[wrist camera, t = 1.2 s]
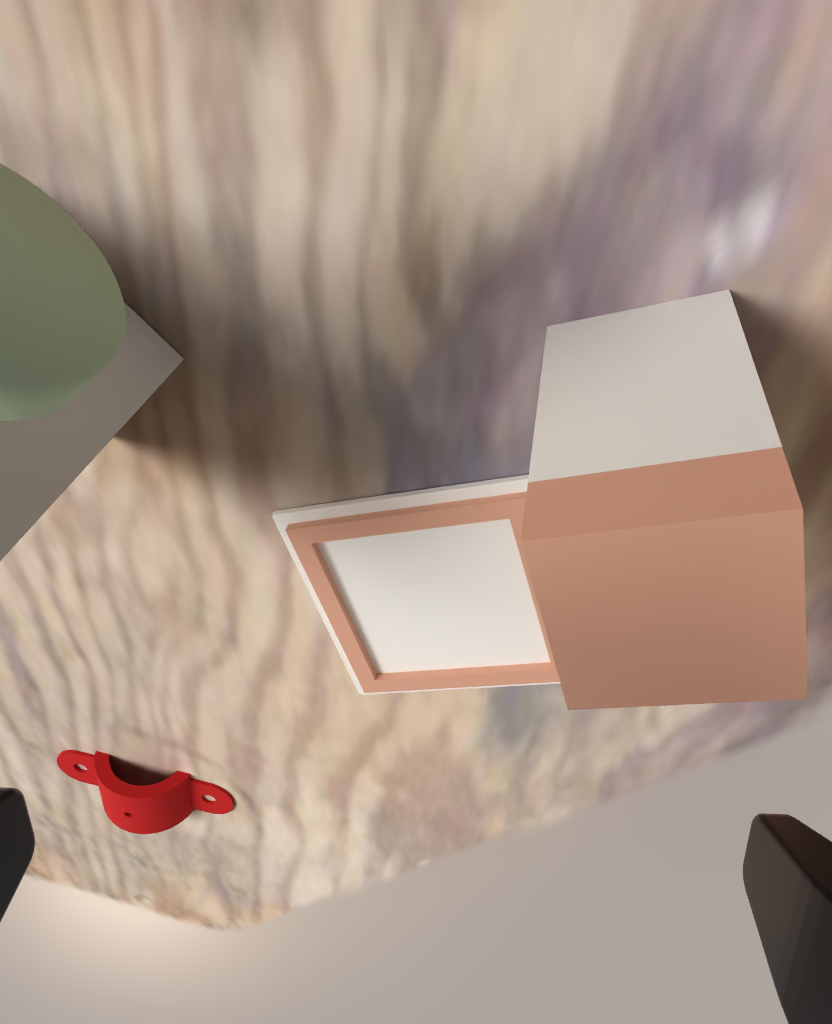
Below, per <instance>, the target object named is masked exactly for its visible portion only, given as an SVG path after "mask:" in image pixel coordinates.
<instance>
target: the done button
mask: <svg viewBox="0 0 832 1024" xmlns="http://www.w3.org/2000/svg"><path fill="white" fill-rule="evenodd" d="M125 326H126V315H125V306H124V302H123V297H122V294H121V291H120V288H119V285H118V282H117V280H116V278H115V276H114V274H113V272H112V269H111V268H110V266H109V264H108V262H107V261H106V259H105V257H104V256H103V254H102V253H101V251H100V250H99V248H98V247H97V246H96V244H95V243H94V241H93V240H92V239H91V238H90V237H89V235H88V234H87V233H86V232H85V231H84V229H83V228H82V227H81V226H80V225H79V224H78V223H77V222H76V221H75V220H74V219H73V218H72V217H71V215H70V214H69V213H68V212H66V211H65V210H64V209H63V208H62V207H61V206H60V205H59V204H58V203H57V202H55V201H54V200H53V199H52V198H51V197H49V196H48V195H47V194H46V193H44V192H43V191H42V190H41V189H39V188H38V187H36V186H35V185H34V184H32V183H31V182H29V181H28V180H26V179H25V178H24V177H22V176H20V175H19V174H17V173H15V172H14V171H12V170H11V169H9V168H7V167H6V166H4V165H2V164H0V420H1V421H14V420H26V419H32V418H38V417H41V416H45V415H48V414H51V413H53V412H55V411H57V410H59V409H61V408H63V407H65V406H66V405H67V404H69V403H70V402H71V401H73V400H74V399H75V398H76V397H77V396H78V395H79V394H80V393H81V392H82V391H83V390H84V388H85V387H86V386H87V385H88V384H89V383H90V382H91V381H92V380H93V379H94V378H95V377H96V376H97V375H98V374H99V373H100V372H101V371H102V370H103V369H104V368H105V367H106V366H107V365H108V364H109V362H110V361H111V360H112V359H113V358H114V357H115V355H116V354H117V352H118V350H119V348H120V347H121V345H122V341H123V338H124V335H125Z"/></svg>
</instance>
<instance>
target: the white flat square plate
mask: <svg viewBox="0 0 832 1024" xmlns="http://www.w3.org/2000/svg"><path fill="white" fill-rule="evenodd" d="M528 478H529V474H528V475H521V476H514V477H507V478H500V479H493V480H486V481H479V482H472V483H465V484H458V485H451V486H444V487H437V488H430V489H423V490H416V491H409V492H402V493H395V494H388V495H381V496H374V497H367V498H360V499H353V500H346V501H340V502H333V503H326V504H319V505H312V506H305V507H298V508H291V509H284V510H277V511H273V513H272V514H271V516H272V518H273V520H274V522H275V524H276V526H277V528H278V530H279V532H280V534H281V536H282V538H283V540H284V542H285V544H286V546H287V548H288V550H289V552H290V554H291V556H292V558H293V560H294V562H295V564H296V566H297V568H298V570H299V572H300V575H301V577H302V579H303V581H304V583H305V585H306V587H307V589H308V591H309V593H310V595H311V597H312V599H313V601H314V603H315V605H316V607H317V609H318V611H319V613H320V615H321V617H322V619H323V621H324V623H325V625H326V627H327V629H328V631H329V633H330V635H331V637H332V639H333V641H334V644H335V646H336V648H337V650H338V652H339V654H340V656H341V658H342V660H343V662H344V664H345V666H346V668H347V670H348V672H349V674H350V676H351V678H352V680H353V682H354V684H355V686H356V688H357V690H358V692H359V694H360V695H364V694H381V693H398V692H416V691H433V690H451V689H468V688H486V687H503V686H520V685H538V684H555V683H560V680H559V676H558V672H557V669H556V665H555V662H554V658H553V655H552V651H551V648H550V644H549V640H548V637H547V633H546V630H545V626H544V623H543V619H542V616H541V612H540V608H539V605H538V601H537V598H536V594H535V591H534V587H533V584H532V580H531V576H530V573H529V569H528V566H527V562H526V559H525V555H524V552H523V548H522V544H521V534H522V526H523V518H524V510H525V502H526V494H527V486H528Z"/></svg>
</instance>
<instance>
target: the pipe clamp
mask: <svg viewBox="0 0 832 1024" xmlns="http://www.w3.org/2000/svg"><path fill="white" fill-rule="evenodd" d="M57 764H58V766H59V767H60V769H61V770H62V771H63V772H64V773H66V774H67V775H68V776H70V777H72V778H74V779H76V780H78V781H81V782H85V783H89V784H93V785H97V786H99V789H100V793H101V798H102V802H103V806H104V810H105V812H106V814H107V816H108V817H109V819H110V820H111V821H112V822H113V823H114V824H115V825H117V826H118V827H119V828H121V829H123V830H126V831H128V832H132V833H137V834H152V833H157V832H161V831H164V830H167V829H169V828H172V827H174V826H175V825H177V824H179V823H180V822H182V821H183V820H184V819H185V818H187V817H188V816H189V815H190V814H191V812H192V811H193V810H194V809H196V810H200V811H204V812H209V813H213V814H224V813H228V812H230V811H231V810H232V808H233V806H234V800H233V798H232V796H231V795H230V794H229V793H228V792H227V791H226V790H224V789H223V788H221V787H219V786H217V785H215V784H212V783H208V782H204V781H200V780H196V779H192V778H191V777H190V774H189V773H184V772H180V771H176V772H175V773H174V774H173V775H171V776H170V777H169V778H167V779H165V780H163V781H161V782H159V783H156V784H152V785H146V786H137V785H131V784H128V783H125V782H123V781H121V780H120V779H118V778H117V777H116V776H115V775H114V774H113V771H112V766H111V762H110V757H109V754H106V753H102V752H98V751H96V753H95V755H93V754H89V753H85V752H80V751H76V750H66V751H63V752H61V753H60V754H59V756H58V758H57ZM76 764H81V765H83V766H85V767H86V768H87V769H88V770H83V769H80V768H78V767H77V766H76ZM203 795H210V796H212V797H214V798H215V799H216V801H209V800H207V799H205V798H204V797H203Z"/></svg>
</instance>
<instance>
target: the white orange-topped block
mask: <svg viewBox="0 0 832 1024" xmlns="http://www.w3.org/2000/svg"><path fill="white" fill-rule="evenodd" d="M521 544H522V548H523V552H524V555H525V559H526V562H527V566H528V569H529V573H530V576H531V580H532V584H533V587H534V591H535V594H536V598H537V601H538V605H539V608H540V612H541V616H542V619H543V623H544V626H545V630H546V633H547V637H548V640H549V644H550V648H551V651H552V655H553V658H554V662H555V665H556V669H557V672H558V676H559V680H560V683H561V687H562V690H563V694H564V697H565V701H566V704H567V708H568V710H576V709H597V708H618V707H639V706H661V705H682V704H703V703H724V702H745V701H767V700H788V699H808V668H807V633H806V598H805V563H804V528H803V507H802V504H801V501H800V498H799V495H798V492H797V489H796V486H795V483H794V480H793V477H792V474H791V471H790V468H789V466H788V463H787V460H786V457H785V454H784V451H783V448H782V445H781V442H780V439H779V436H778V433H777V430H776V427H775V424H774V421H773V418H772V415H771V412H770V409H769V406H768V403H767V400H766V397H765V394H764V391H763V388H762V385H761V382H760V379H759V377H758V374H757V371H756V368H755V365H754V362H753V359H752V356H751V353H750V350H749V347H748V344H747V341H746V338H745V335H744V332H743V329H742V326H741V323H740V320H739V317H738V314H737V311H736V308H735V305H734V302H733V299H732V296H731V293H730V290H724V291H720V292H715V293H710V294H705V295H700V296H695V297H690V298H685V299H680V300H675V301H670V302H665V303H660V304H655V305H650V306H645V307H640V308H636V309H631V310H626V311H621V312H616V313H611V314H606V315H601V316H596V317H591V318H586V319H581V320H576V321H571V322H566V323H561V324H556V325H552V326H547V332H546V340H545V348H544V356H543V364H542V372H541V380H540V389H539V397H538V405H537V413H536V421H535V429H534V437H533V445H532V453H531V462H530V470H529V478H528V486H527V494H526V502H525V510H524V518H523V526H522V534H521Z"/></svg>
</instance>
